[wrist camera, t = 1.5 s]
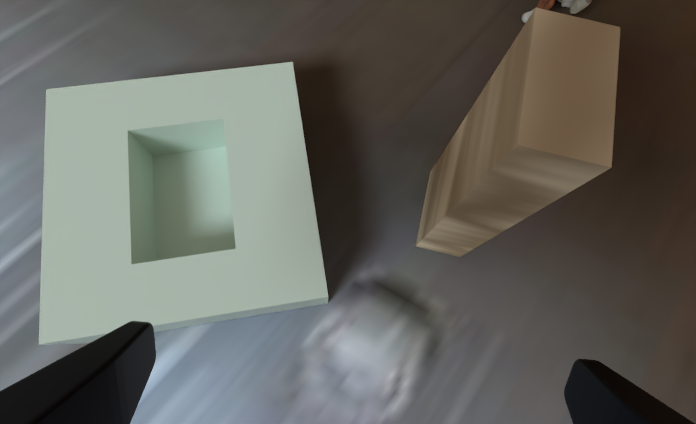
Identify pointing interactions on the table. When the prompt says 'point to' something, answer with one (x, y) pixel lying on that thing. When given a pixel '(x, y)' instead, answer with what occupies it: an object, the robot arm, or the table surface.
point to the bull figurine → (576, 3)
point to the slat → (526, 133)
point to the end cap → (176, 203)
